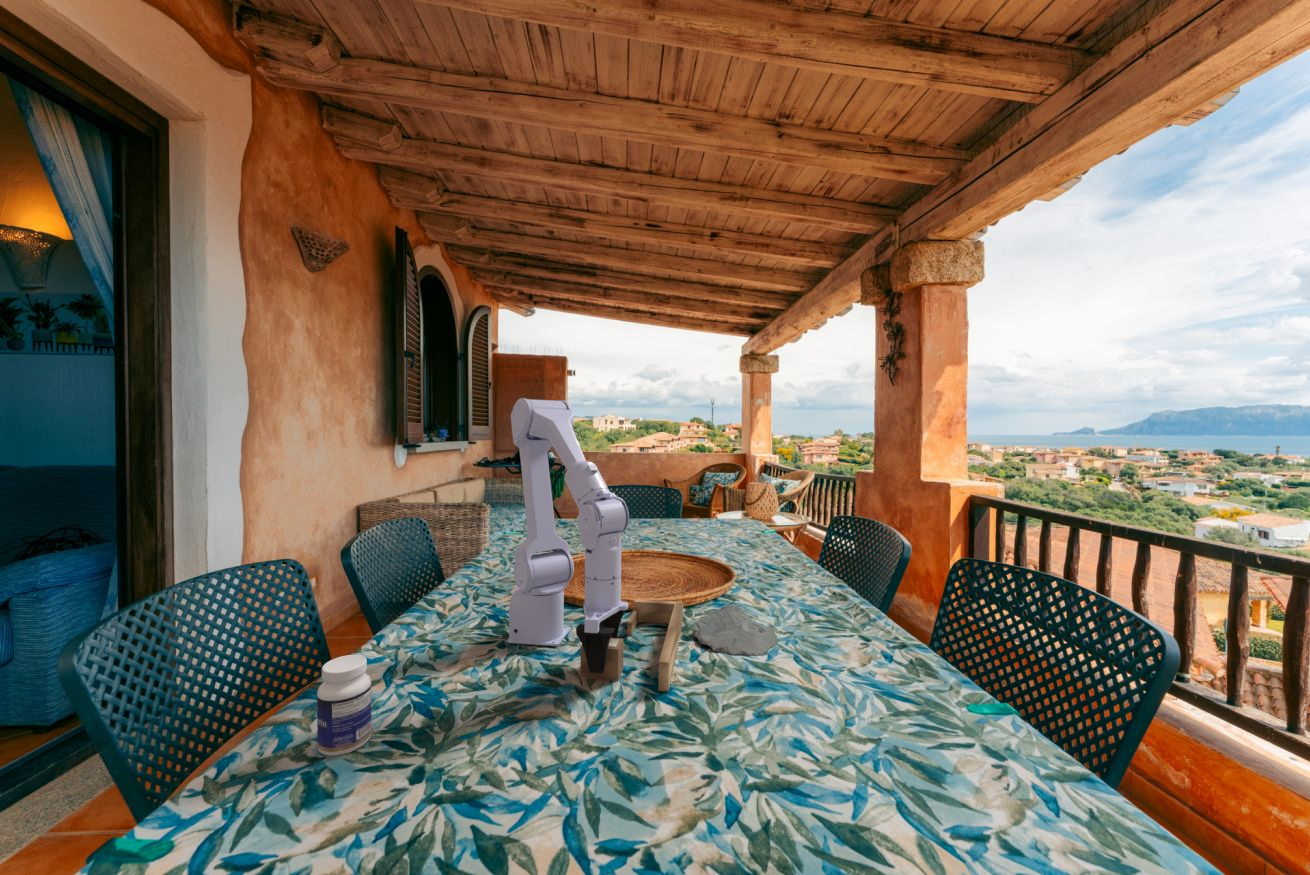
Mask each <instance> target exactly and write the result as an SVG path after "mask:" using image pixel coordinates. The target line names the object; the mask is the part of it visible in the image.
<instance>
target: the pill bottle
mask: <svg viewBox="0 0 1310 875" xmlns="http://www.w3.org/2000/svg"><path fill="white" fill-rule="evenodd" d="M367 669H368V663H367V657H366V656H365V655H362V654H347V655H342V656H338V657H336V658H332V659H330V660H329V661H326V663H324V664H323V666H322V668H321V679H322V680H323V682H322V683H321V684H320V685H319V686H318V689H317V692H316V707H317V708H316V713H317V714H316V718H317V721H316V723H317V724H316V726H317V729H316V730H317V734H316V735H317V737H316V738H317V740H316V742H317V746H316V748H317V750H318V751H319V753H321V754H323V755H325V756H329V757H332V756H333V757H334V756H341V755H345V754H349V753H352V752H353V751H356V750H358V749H360V748H361V747H362V746H364V745H366V744H367V743H368V741H369V740H370V738H371V737H372V732H373V731H372V727H373V724H372V720H373V719H372V679H371V677H370V676H369V675H368V674H367V673H365V672H366V671H367Z"/></svg>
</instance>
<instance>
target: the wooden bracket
mask: <svg viewBox="0 0 1310 875" xmlns="http://www.w3.org/2000/svg"><path fill="white" fill-rule="evenodd" d="M638 623H654V624H655V623H656V624H668V627H667V631H666V634H665V639H664V641H663V642H664V643H663V645H662V649H661V653H660V656H659V659H658V692H659V691H660V692H669V690H670V686H671V682H672V677H673V671H674V666H675V662H676V657H677V653H678V649H679V642H680V638H681V634H682V628H683V623H684V601H673V600H659V599H658V600H657V599H656V600H655V599H638V598H636V599H634V601H633V610H632V612H631V615H630V616H629V618H628V621H627V625H626V628H627V633H626V634H627V637H629V636H633V634H634V631H635V630H636V627H637V624H638Z"/></svg>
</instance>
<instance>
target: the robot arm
mask: <svg viewBox="0 0 1310 875" xmlns="http://www.w3.org/2000/svg"><path fill="white" fill-rule="evenodd" d="M574 417H575V414H574V412H573V410H572V407H571V405H570V403H569V401H566V400H563V399H559V400H549V399H548V400H547V399H531V398H530V399H529V398H526V397H521V398H518V399H517V400H516V402H515V403H514V405H513V407H512V411H511V413H510V423H511V434H512V440H513V445H514V446H515V447H518V448H519V457H520V458H519V459H520V468H521V478H522V488H523V497H524V498H523V499H524V507H525V520H526V529H527V530H526V531H527V538H525V540H524V541H523V542H522V543H521V544H520V545H519V546H518V547H517V548H516V550H515V551H514V565H513V578H514V582H515V585H516V586H517V588H515V589H514V590H513V592H512V594H511V597H510V600H509V607H508V608H509V609H508V610H509V611H508V612H509V613H508V614H509V617H508V618H509V619H508V622H509V623H508V627H509V629H508V630H509V631H508V632H509V634H508V639H507V643H509V644H518V645H519V644H521V645H532V646H533V645H534V646H535V645H536V646H549V647H558V646H559V645H560V644H561V642H562V641H563V640H564V638H566V636H567V635H568V633H569V632H570V631H571V627H570V626H566V625H564V615H565V614H564V612H565V610H564V609H565V607H564V604H565V603H564V602H565V598H564V596H565V594H564V593H565V589H567V588H568V583H569V582H571V580H572V578H573V576H574V573H575V572H574V571H575V564H574V559H573V558H572V555H571V553H570V552H571V551H570V547H569V543H568V542H567V541H566V540H564V539H563V538H561V537H560V536H559V535H558V534H557V532H556V522H555V512H554V504H553V496H552V495H553V494H552V485H551V484H552V483H551V477H550V466H549V457H548V453H549V451H550V449H551V448H552V447H553V449H554V451H555V452H556V454H557V456H558V457H559V459H560V460H561V462H562V464H563V465H564V467H565V469H566V472H565V475H564V482H565V483H566V484H565V485H566V486H567V488H568V490H569V493H570V494H571V496H572V499H573V500H574V502H575V504H576V507H577V509H578V510H579V511H578V516H576V521H577V526H578V530H579V532H580V536H581V541H580V542H581V544H582V548H584V601H583V604H582V605H583V608H582V609H583V611H584V617H585V618H584V623H579V624H578V625H577V626H576V628H575V633H576V636H577V638H578V639H579V641H580V643H581V645H582V646H583V648H584V651H585V655H586V659H587V664H588V668H589V671H590V673H603V672H604V669H605V665H606V658H607V651H608V646H609V642H610V639H611V638H618V635H619V630H620V625H621V622H622V619H623V616H624V613H625V612H626V610H627V611H628V608H629V602H628V601H622V534H623V533H624V532H625V531H626V530H627V529H628V526H629V523H630V513H629V508H628V506H627V504H626V502H625V500H624V499H623V498H622V497H619V496H617V495H616V494H615V493H614V492H611V491H610V489H609V488H608V485H607V483H606V482H605V480H604V479H603V476H602V474H601V472H600V471H599V468H598V466H597V465H596V464H595V463H594V462H591V461H587V460H586V457H585V455H584V453H583V450H582V448H581V445H580V443H579V440H578V439H577V436H576V433H575V431H574V428H573V426H574V420H575V418H574ZM546 551H550V552H546ZM540 552H544V553H540ZM536 553H538V554H536Z"/></svg>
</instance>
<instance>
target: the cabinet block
mask: <svg viewBox="0 0 1310 875" xmlns="http://www.w3.org/2000/svg"><path fill="white" fill-rule="evenodd" d="M624 644H625V643H624V638H621V637H620V638H619V637H617V638H611V639H610V642H609V646H608V651H607V658H606V665H605V669H604V672H603V673H590V671H589V668H588V664H587V659H586V655H585V651H584V648H583V646H582V644H581V646H580V665H579V666H580V671H579V672H580V676H579V677H580V679H585V678H586V679H587V678H588V679H587V680H597V679H599V680H601V679H602V680H601V681H610V680H615V681H614V682H618V680H620V678H621V676H622V674H623V671H624ZM586 679H585V680H586ZM599 680H598V681H599Z"/></svg>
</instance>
